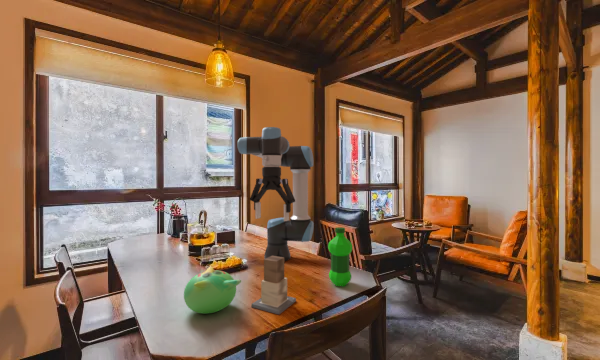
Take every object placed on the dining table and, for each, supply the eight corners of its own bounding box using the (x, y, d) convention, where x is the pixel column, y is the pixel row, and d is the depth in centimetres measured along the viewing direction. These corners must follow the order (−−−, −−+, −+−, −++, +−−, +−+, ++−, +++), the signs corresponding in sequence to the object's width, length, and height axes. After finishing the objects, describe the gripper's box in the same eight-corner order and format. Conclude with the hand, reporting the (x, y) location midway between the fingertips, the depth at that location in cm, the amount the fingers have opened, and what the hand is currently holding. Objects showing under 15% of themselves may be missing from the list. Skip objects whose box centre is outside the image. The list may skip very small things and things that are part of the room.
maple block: (271, 295, 113) (271, 275, 112) (287, 298, 109) (287, 278, 109) (261, 302, 106) (261, 280, 106) (277, 306, 103) (277, 284, 103)
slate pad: (270, 294, 116) (270, 291, 116) (295, 301, 110) (295, 297, 110) (251, 307, 105) (251, 303, 105) (279, 314, 100) (279, 311, 100)
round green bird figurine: (228, 296, 115) (227, 260, 114) (243, 313, 100) (243, 272, 100) (180, 307, 105) (179, 268, 105) (190, 328, 91) (189, 282, 90)
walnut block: (272, 276, 111) (272, 255, 111) (284, 278, 109) (284, 257, 109) (264, 280, 106) (263, 259, 106) (276, 283, 104) (276, 261, 104)
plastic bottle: (337, 278, 134) (337, 225, 134) (356, 284, 127) (356, 228, 126) (323, 284, 127) (323, 228, 127) (342, 291, 120) (342, 231, 119)
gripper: (241, 166, 117) (241, 218, 117) (294, 165, 105) (294, 223, 105) (252, 167, 124) (252, 216, 124) (303, 166, 112) (303, 220, 112)
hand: (271, 219), depth 115 cm, fingers open, 13 cm apart
